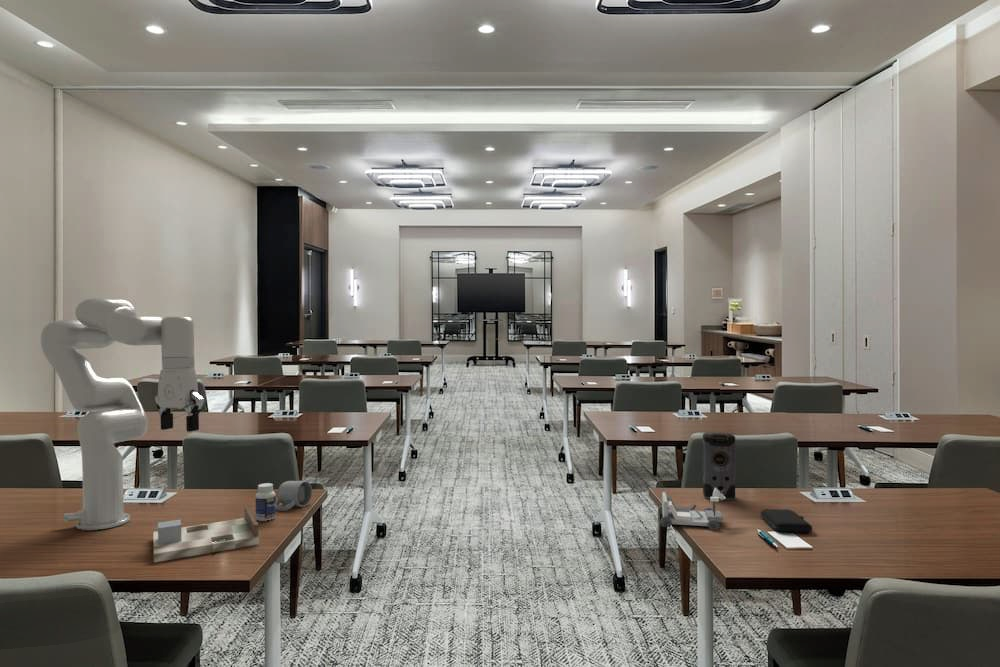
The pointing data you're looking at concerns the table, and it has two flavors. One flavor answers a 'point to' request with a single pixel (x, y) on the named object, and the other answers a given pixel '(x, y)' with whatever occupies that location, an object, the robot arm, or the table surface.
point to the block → (169, 531)
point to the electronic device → (719, 464)
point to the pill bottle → (265, 502)
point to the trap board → (210, 538)
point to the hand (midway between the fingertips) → (179, 429)
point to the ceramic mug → (293, 494)
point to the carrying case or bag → (786, 521)
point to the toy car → (691, 513)
